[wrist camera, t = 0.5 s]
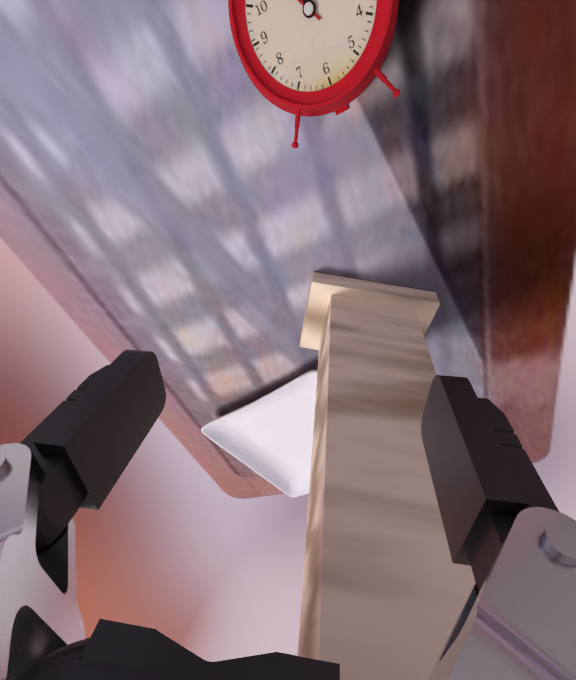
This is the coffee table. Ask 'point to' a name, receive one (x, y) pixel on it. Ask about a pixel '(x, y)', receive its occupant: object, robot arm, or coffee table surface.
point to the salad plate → (273, 434)
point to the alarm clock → (313, 50)
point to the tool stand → (374, 488)
